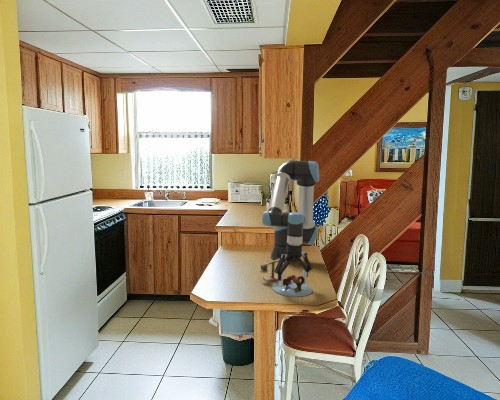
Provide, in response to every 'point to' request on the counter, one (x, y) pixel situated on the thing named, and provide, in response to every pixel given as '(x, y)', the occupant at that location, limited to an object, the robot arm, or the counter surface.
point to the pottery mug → (295, 280)
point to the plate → (292, 290)
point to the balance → (264, 270)
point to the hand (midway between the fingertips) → (292, 285)
